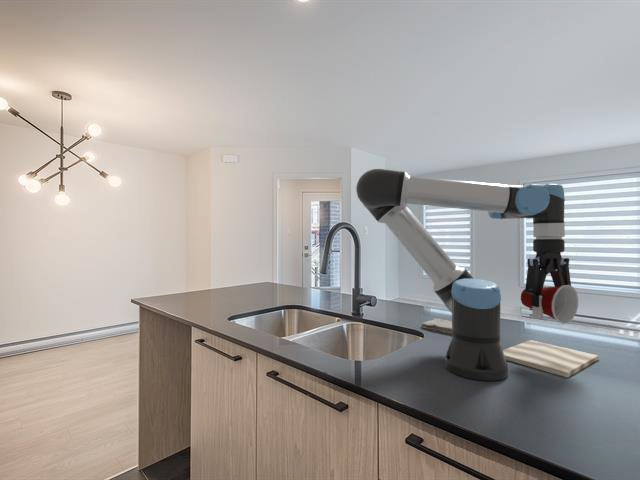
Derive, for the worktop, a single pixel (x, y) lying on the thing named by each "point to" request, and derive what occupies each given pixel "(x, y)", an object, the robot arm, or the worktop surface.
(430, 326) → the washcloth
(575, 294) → the plastic cup
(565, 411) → the worktop surface
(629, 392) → the worktop surface
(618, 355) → the worktop surface
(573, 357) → the cutting board
